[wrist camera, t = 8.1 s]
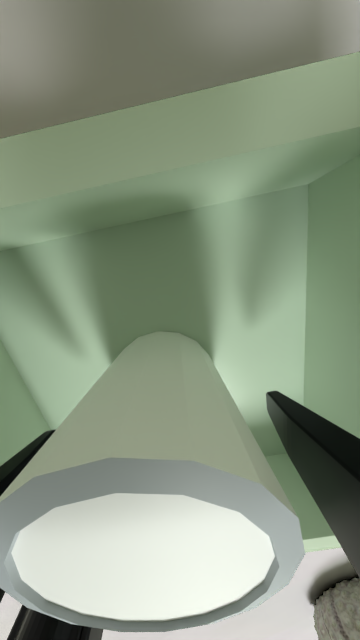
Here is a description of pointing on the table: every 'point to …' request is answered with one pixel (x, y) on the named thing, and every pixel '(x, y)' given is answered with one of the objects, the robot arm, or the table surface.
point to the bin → (191, 253)
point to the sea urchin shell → (339, 612)
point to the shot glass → (149, 503)
